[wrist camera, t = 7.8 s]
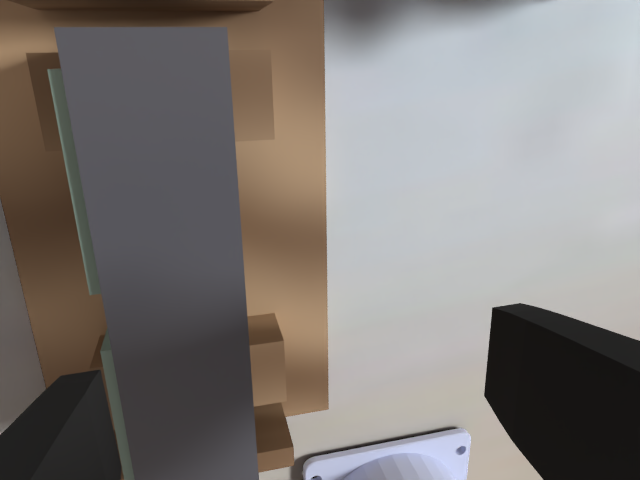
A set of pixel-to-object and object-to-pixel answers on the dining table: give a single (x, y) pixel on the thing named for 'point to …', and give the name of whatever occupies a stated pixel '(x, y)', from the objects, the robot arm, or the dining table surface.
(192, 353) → the grey rectangular box
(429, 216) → the dining table surface
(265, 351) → the stand
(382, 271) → the dining table surface
